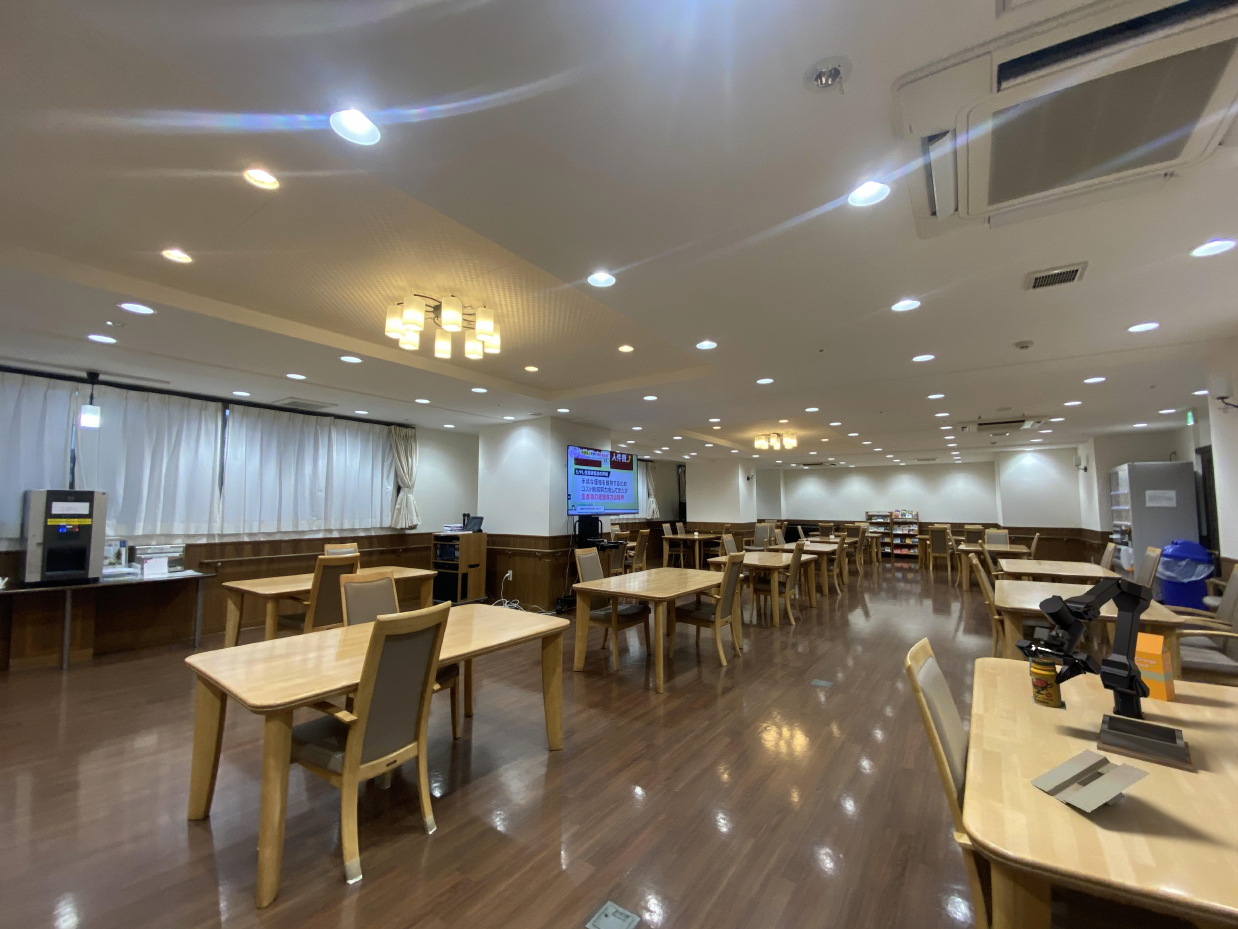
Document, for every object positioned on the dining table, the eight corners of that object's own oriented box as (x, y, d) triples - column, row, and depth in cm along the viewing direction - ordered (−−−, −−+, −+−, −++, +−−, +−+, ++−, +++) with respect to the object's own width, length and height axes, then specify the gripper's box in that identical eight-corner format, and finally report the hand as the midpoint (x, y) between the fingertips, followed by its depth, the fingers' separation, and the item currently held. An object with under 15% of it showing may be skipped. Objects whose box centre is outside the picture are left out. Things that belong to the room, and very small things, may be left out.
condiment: (1031, 705, 137) (1027, 660, 139) (1031, 696, 144) (1027, 654, 145) (1066, 711, 133) (1061, 665, 134) (1065, 702, 139) (1060, 658, 140)
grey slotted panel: (1130, 854, 92) (1180, 796, 93) (1088, 813, 94) (1138, 757, 96) (1062, 817, 108) (1106, 768, 109) (1027, 782, 110) (1071, 735, 111)
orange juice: (1167, 701, 157) (1159, 637, 159) (1129, 693, 165) (1122, 631, 167) (1176, 697, 160) (1168, 634, 163) (1138, 689, 168) (1131, 629, 170)
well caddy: (1101, 726, 138) (1100, 710, 139) (1188, 745, 127) (1186, 727, 127) (1097, 749, 125) (1095, 731, 125) (1193, 772, 113) (1190, 753, 114)
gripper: (1016, 611, 150) (993, 652, 146) (1089, 623, 133) (1065, 670, 128) (1037, 635, 152) (1014, 676, 148) (1112, 651, 134) (1089, 698, 130)
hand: (1043, 679), depth 138 cm, fingers closed on condiment, 6 cm apart
